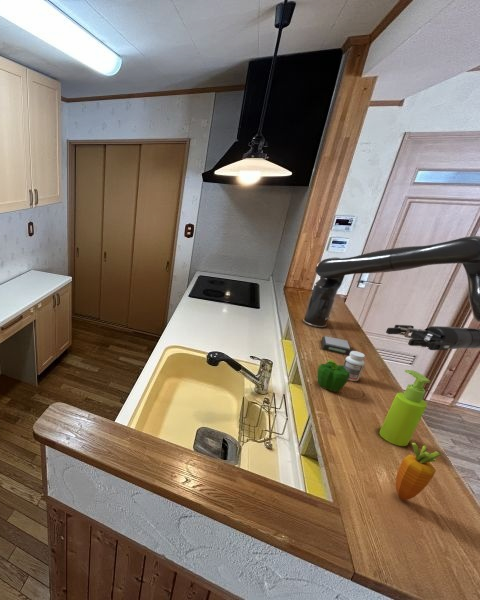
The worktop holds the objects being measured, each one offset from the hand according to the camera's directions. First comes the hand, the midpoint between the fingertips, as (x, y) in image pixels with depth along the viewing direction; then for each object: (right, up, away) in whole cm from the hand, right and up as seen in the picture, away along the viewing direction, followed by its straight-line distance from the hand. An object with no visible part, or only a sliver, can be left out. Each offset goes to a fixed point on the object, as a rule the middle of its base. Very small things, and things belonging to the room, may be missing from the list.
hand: (398, 336), depth 110 cm
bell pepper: (-23, -18, +1) cm, 29 cm away
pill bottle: (-12, -16, +7) cm, 21 cm away
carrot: (-37, -32, -38) cm, 62 cm away
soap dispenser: (-22, -26, -20) cm, 40 cm away
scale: (-1, -8, +27) cm, 28 cm away
